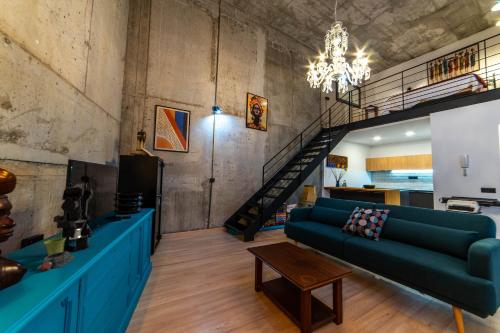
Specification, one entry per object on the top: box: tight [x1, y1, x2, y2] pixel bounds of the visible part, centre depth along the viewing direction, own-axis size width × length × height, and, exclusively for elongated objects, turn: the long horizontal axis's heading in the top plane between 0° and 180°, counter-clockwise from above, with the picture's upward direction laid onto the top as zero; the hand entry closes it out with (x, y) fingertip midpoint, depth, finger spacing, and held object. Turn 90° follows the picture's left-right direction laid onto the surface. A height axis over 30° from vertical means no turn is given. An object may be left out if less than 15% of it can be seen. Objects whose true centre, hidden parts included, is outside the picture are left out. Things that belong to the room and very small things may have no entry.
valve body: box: [37, 251, 75, 272], centre depth 103 cm, size 14×10×5 cm
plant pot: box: [43, 237, 67, 256], centre depth 115 cm, size 9×9×9 cm
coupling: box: [69, 228, 82, 241], centre depth 112 cm, size 5×5×5 cm
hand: (75, 236), depth 112 cm, fingers closed on coupling, 5 cm apart
